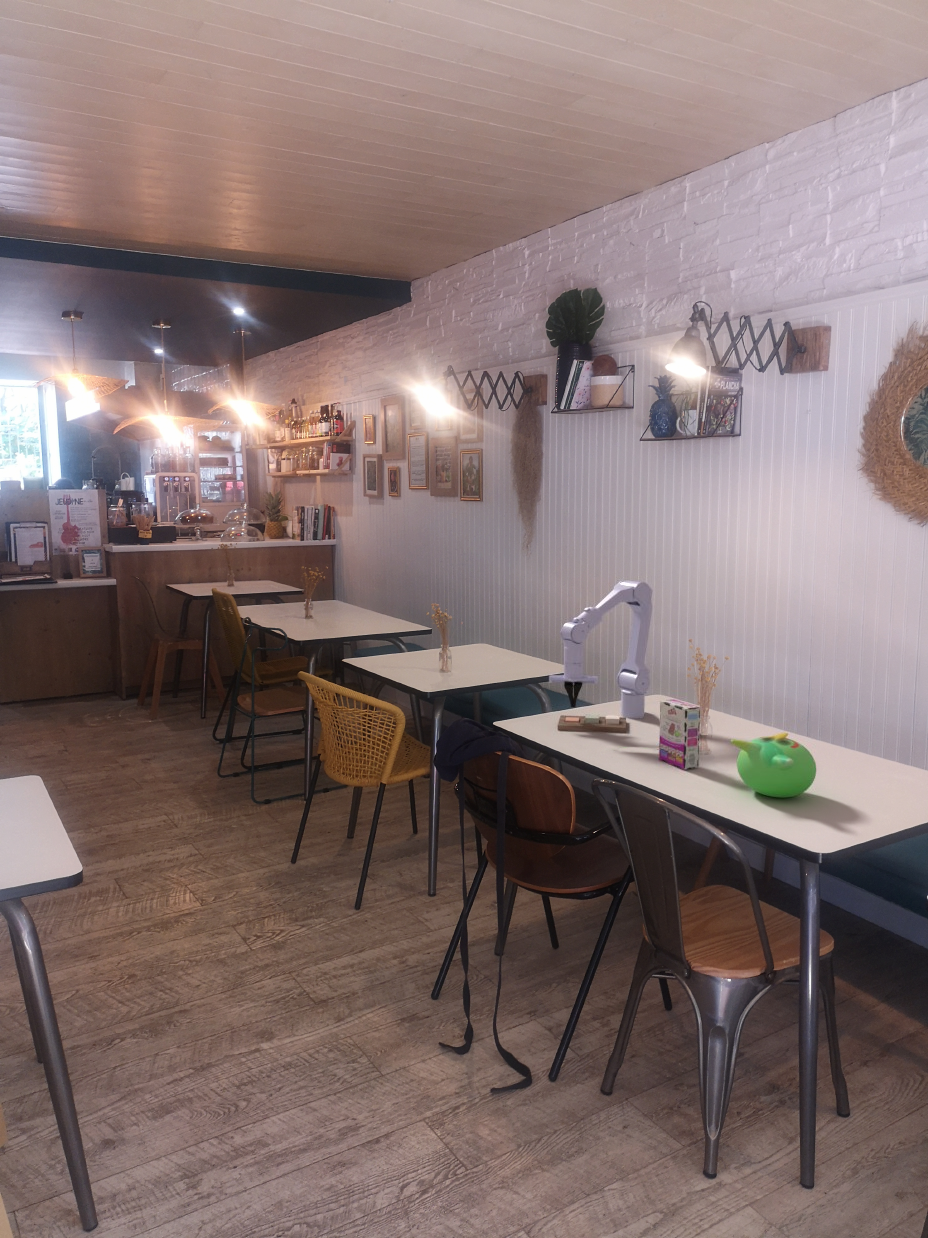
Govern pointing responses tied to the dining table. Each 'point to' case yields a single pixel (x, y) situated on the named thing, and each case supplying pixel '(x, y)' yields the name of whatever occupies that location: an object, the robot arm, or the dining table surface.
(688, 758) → the candy bar box
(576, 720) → the terracotta button
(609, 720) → the cream button
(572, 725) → the button panel
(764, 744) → the toy bird
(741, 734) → the dining table surface
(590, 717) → the sage button
